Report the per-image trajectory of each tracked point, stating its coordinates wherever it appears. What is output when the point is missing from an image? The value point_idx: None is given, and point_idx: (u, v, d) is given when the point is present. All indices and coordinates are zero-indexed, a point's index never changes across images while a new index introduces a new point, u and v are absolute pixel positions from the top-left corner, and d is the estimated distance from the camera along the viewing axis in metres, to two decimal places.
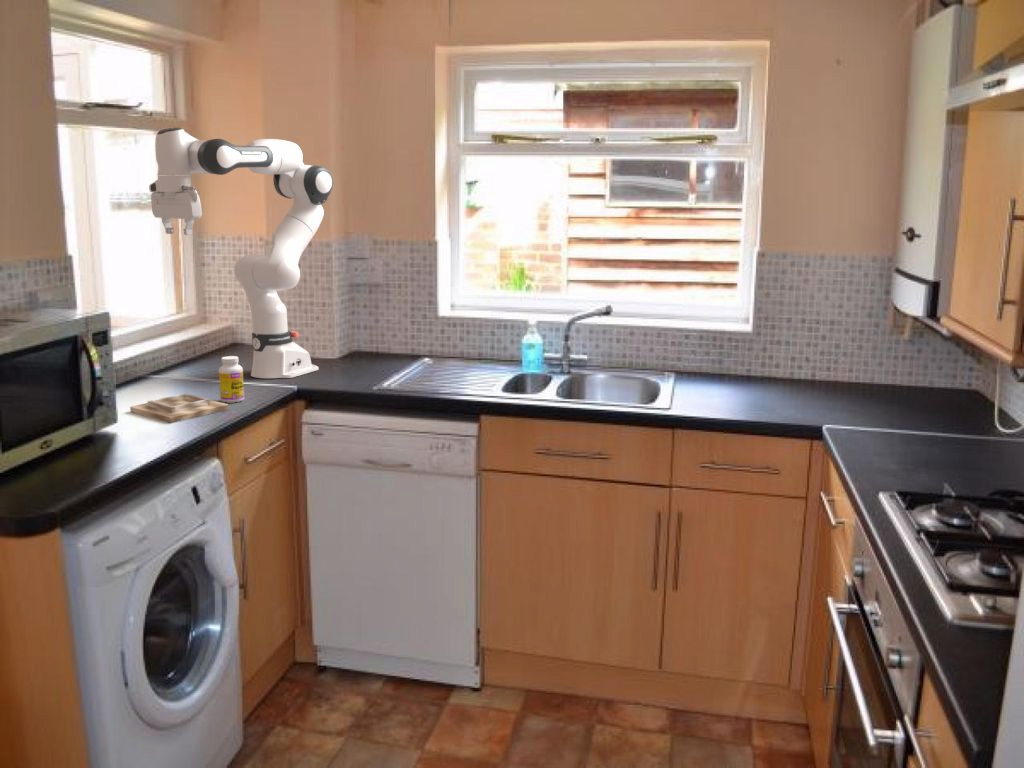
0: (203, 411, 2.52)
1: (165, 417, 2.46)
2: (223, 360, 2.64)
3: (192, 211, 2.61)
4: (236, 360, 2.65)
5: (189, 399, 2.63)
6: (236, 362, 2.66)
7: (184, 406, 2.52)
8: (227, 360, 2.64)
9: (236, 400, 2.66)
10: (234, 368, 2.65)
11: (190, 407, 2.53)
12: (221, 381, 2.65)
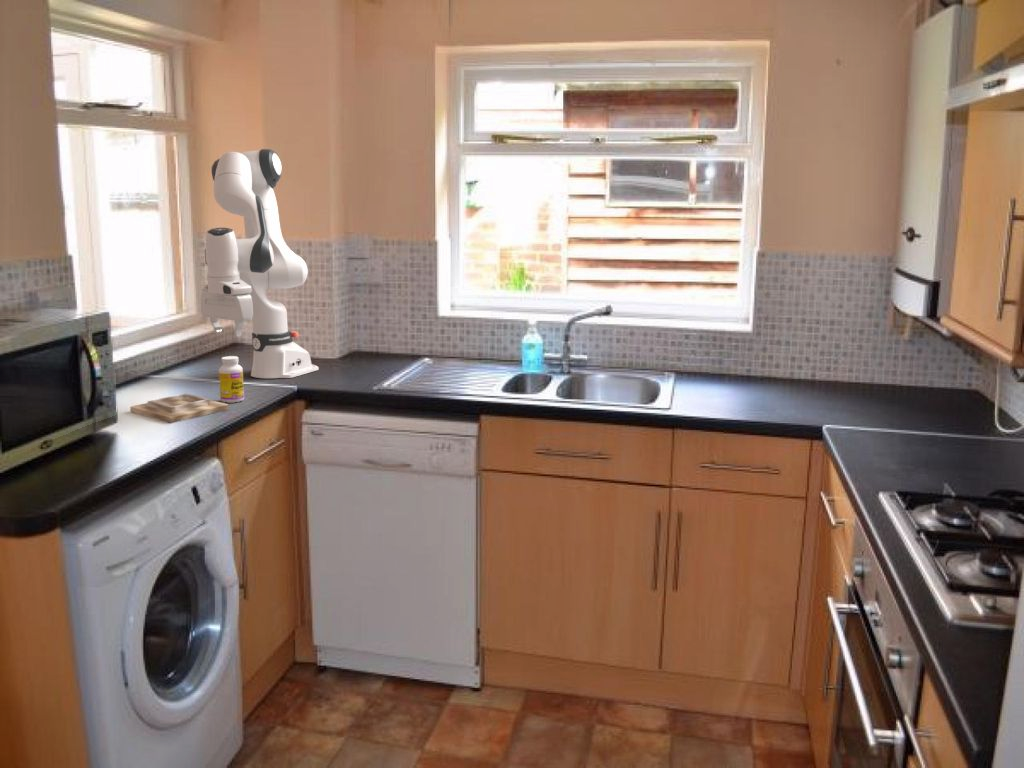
0: (203, 411, 2.52)
1: (165, 417, 2.46)
2: (223, 360, 2.64)
3: None
4: (236, 360, 2.65)
5: (189, 399, 2.63)
6: (236, 362, 2.66)
7: (184, 406, 2.52)
8: (227, 360, 2.64)
9: (236, 400, 2.66)
10: (234, 368, 2.65)
11: (190, 407, 2.53)
12: (221, 381, 2.65)
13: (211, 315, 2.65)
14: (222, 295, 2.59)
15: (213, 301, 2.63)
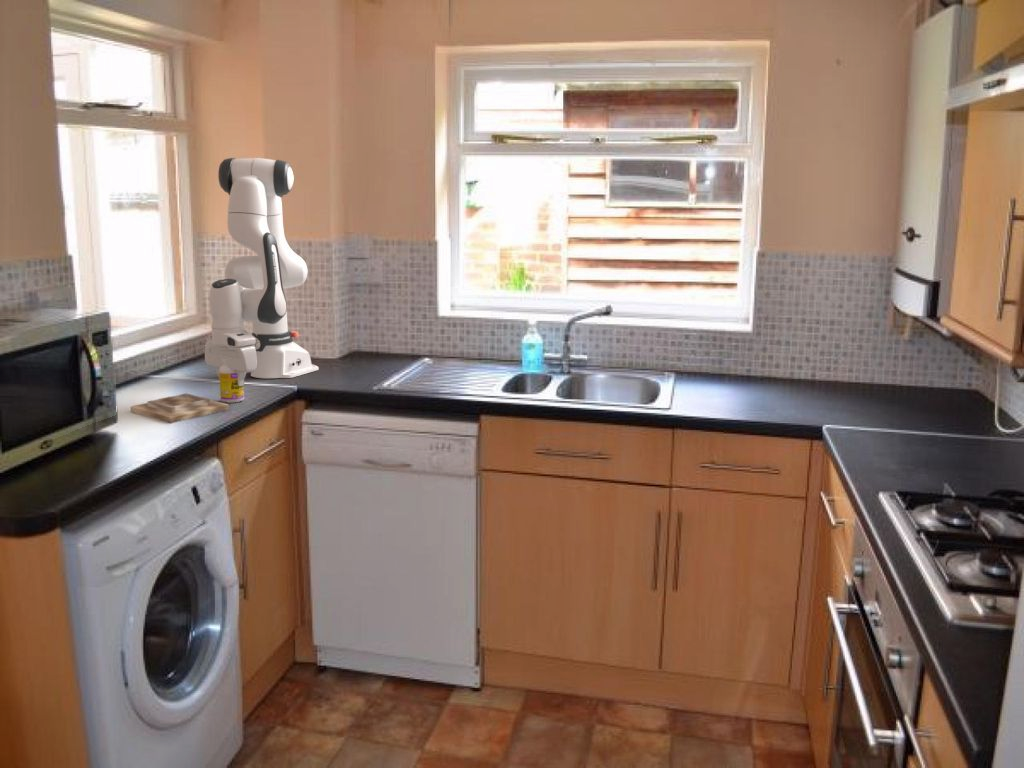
0: (203, 411, 2.52)
1: (165, 417, 2.46)
2: (223, 360, 2.64)
3: None
4: None
5: (189, 399, 2.63)
6: None
7: (184, 406, 2.52)
8: (227, 360, 2.64)
9: (236, 400, 2.66)
10: None
11: (190, 407, 2.53)
12: (221, 381, 2.65)
13: (215, 364, 2.68)
14: (226, 346, 2.62)
15: (217, 350, 2.67)
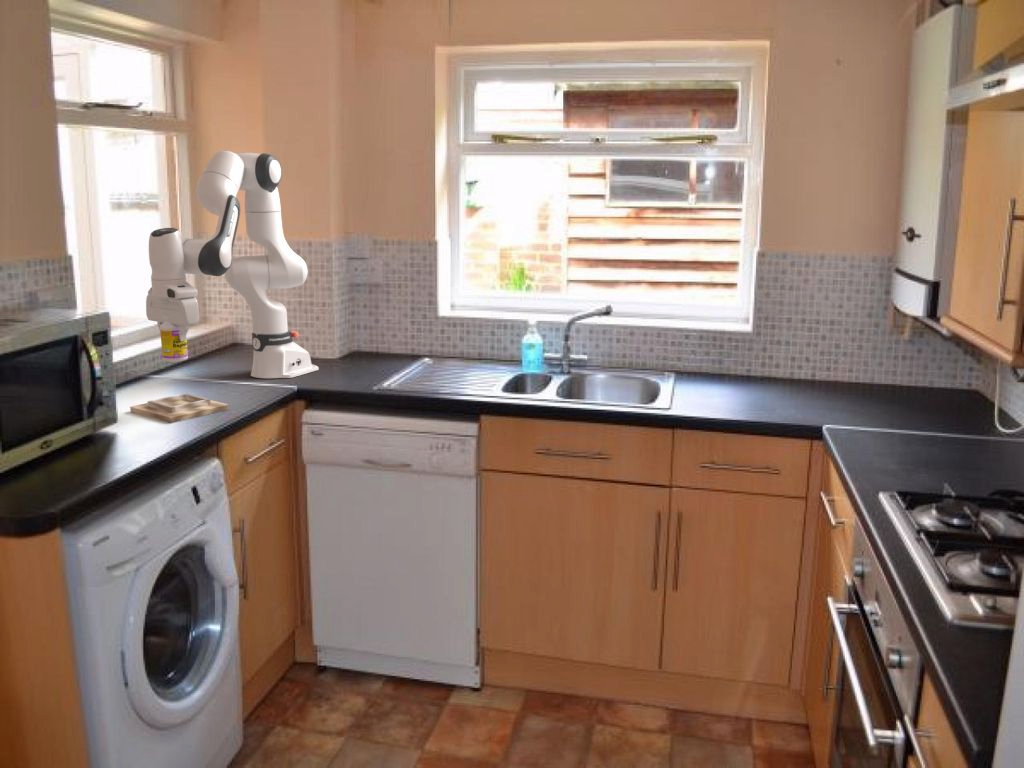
0: (203, 411, 2.52)
1: (165, 417, 2.46)
2: (164, 316, 2.50)
3: None
4: None
5: (189, 399, 2.63)
6: None
7: (184, 406, 2.52)
8: (168, 316, 2.50)
9: (178, 359, 2.52)
10: (176, 325, 2.50)
11: (190, 407, 2.53)
12: (162, 339, 2.51)
13: (156, 319, 2.54)
14: (167, 299, 2.48)
15: (158, 304, 2.52)
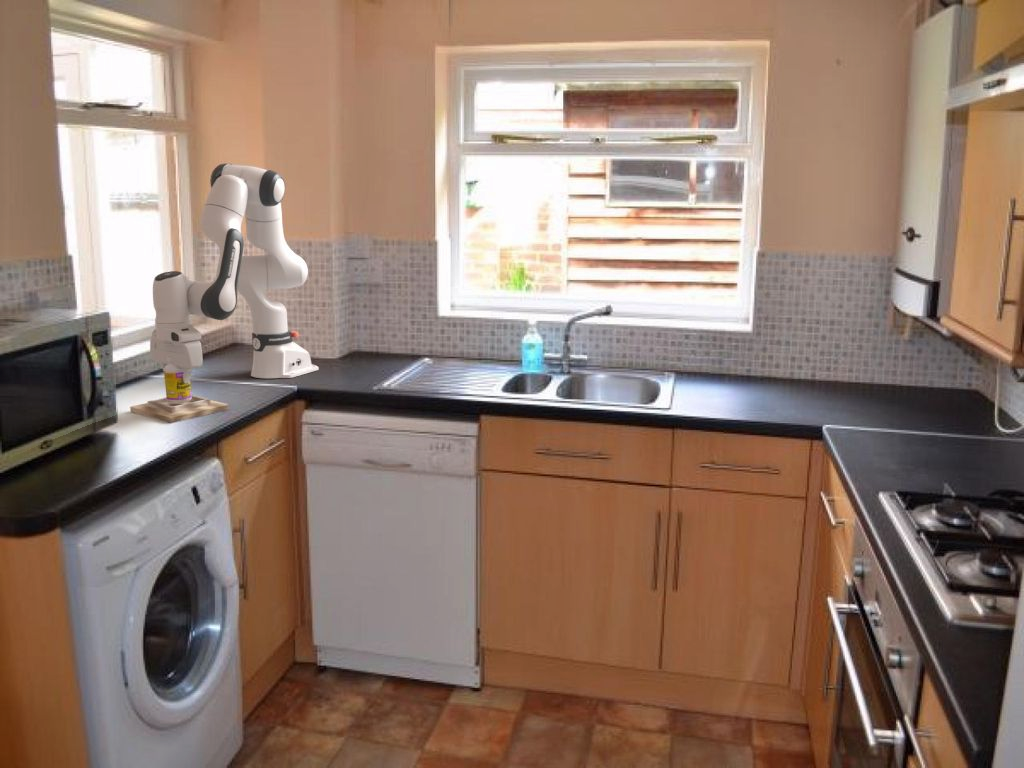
0: (203, 411, 2.52)
1: (165, 417, 2.46)
2: (168, 359, 2.53)
3: None
4: None
5: None
6: None
7: (184, 406, 2.52)
8: (172, 359, 2.52)
9: (182, 400, 2.55)
10: (180, 367, 2.53)
11: (190, 407, 2.53)
12: (166, 381, 2.53)
13: (160, 361, 2.56)
14: (171, 341, 2.50)
15: (162, 346, 2.55)
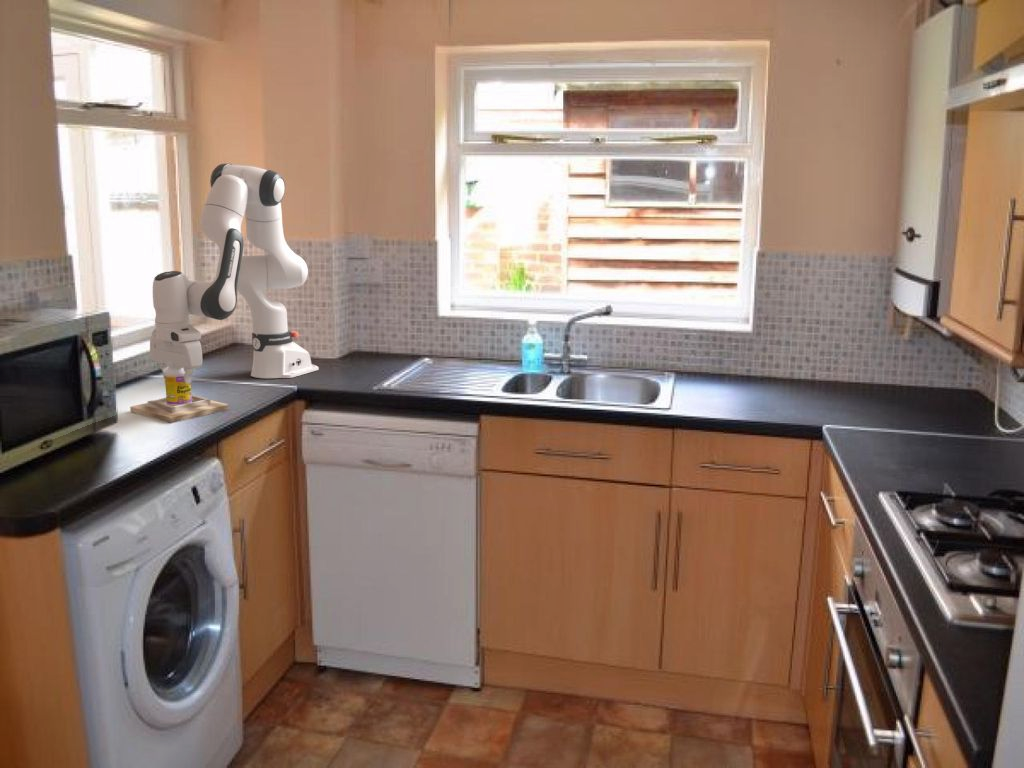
0: (203, 411, 2.52)
1: (165, 417, 2.46)
2: (168, 363, 2.53)
3: None
4: None
5: None
6: None
7: (184, 406, 2.52)
8: None
9: None
10: (180, 371, 2.53)
11: (190, 407, 2.53)
12: (166, 385, 2.54)
13: (160, 360, 2.56)
14: (170, 341, 2.50)
15: (162, 346, 2.55)
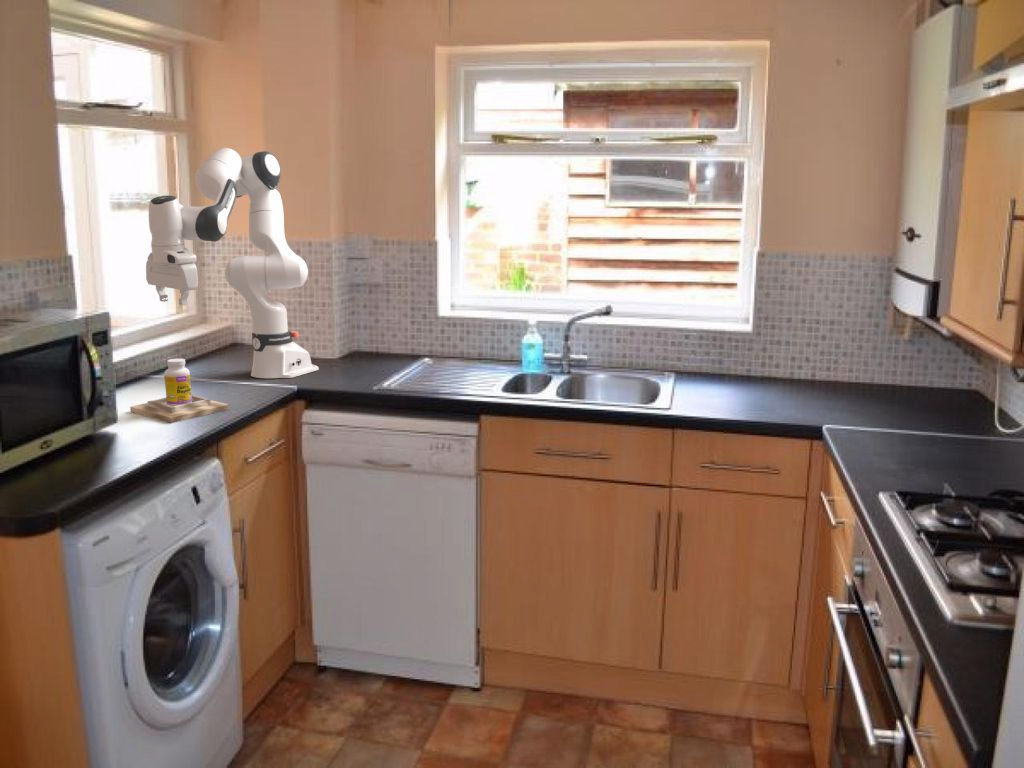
0: (203, 411, 2.52)
1: (165, 417, 2.46)
2: (168, 363, 2.53)
3: None
4: (182, 363, 2.54)
5: None
6: (182, 365, 2.54)
7: (184, 406, 2.52)
8: (172, 363, 2.53)
9: None
10: (180, 371, 2.53)
11: (190, 407, 2.53)
12: (166, 385, 2.54)
13: (156, 283, 2.65)
14: (167, 264, 2.59)
15: (158, 269, 2.63)
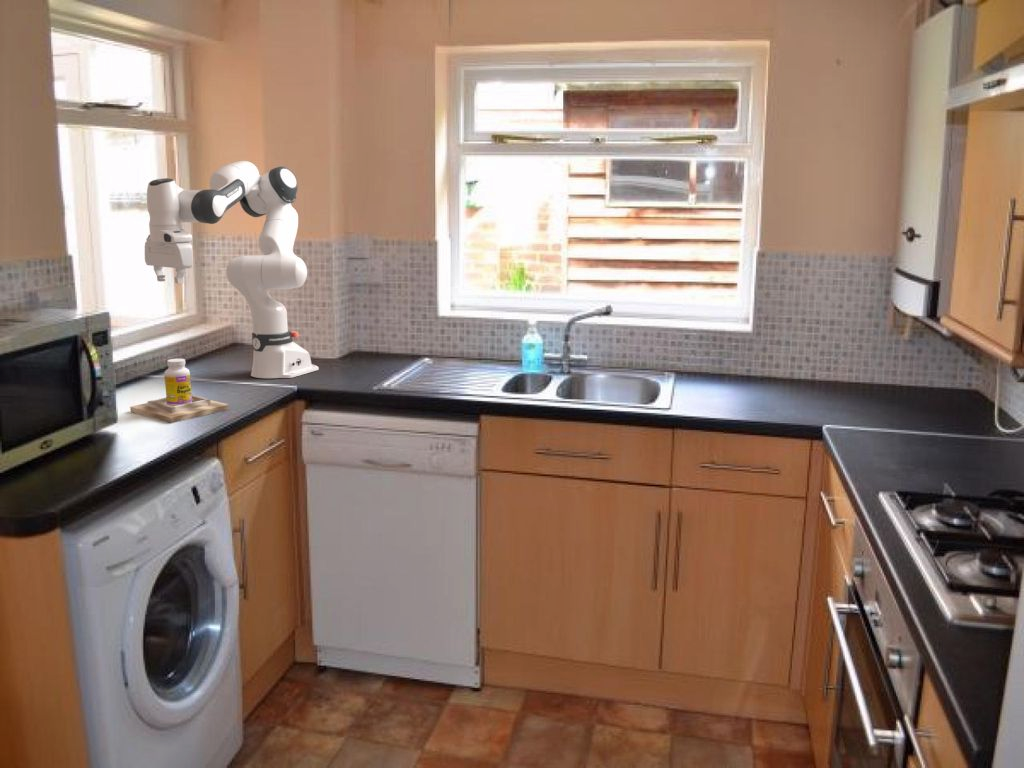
0: (203, 411, 2.52)
1: (165, 417, 2.46)
2: (169, 363, 2.53)
3: None
4: (182, 363, 2.54)
5: None
6: (182, 365, 2.54)
7: (184, 406, 2.52)
8: (173, 363, 2.53)
9: None
10: (180, 371, 2.53)
11: (190, 407, 2.53)
12: (167, 385, 2.54)
13: (154, 263, 2.75)
14: (163, 243, 2.69)
15: (156, 249, 2.73)
